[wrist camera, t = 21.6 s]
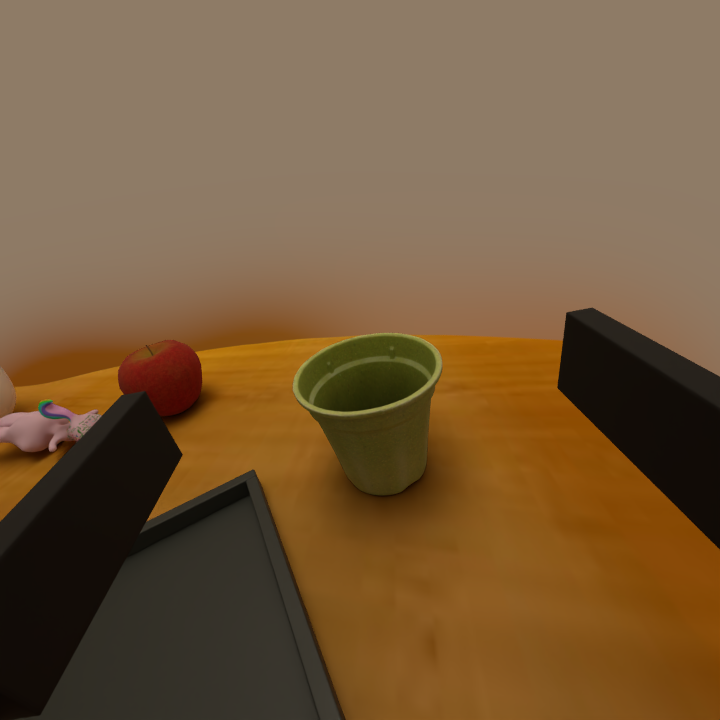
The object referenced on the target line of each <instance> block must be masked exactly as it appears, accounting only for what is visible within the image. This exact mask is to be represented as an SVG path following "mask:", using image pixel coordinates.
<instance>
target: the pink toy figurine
mask: <svg viewBox="0 0 720 720" xmlns="http://www.w3.org/2000/svg"><path fill="white" fill-rule="evenodd" d="M52 402H53V401H52V400H48V399H47V400H42V401H41V402H40V403H39V407H38V409H39V411H35V412H30V413H24V412H20V413H12V414H8V415H6V416H4V417H2V418H0V442H6V443H13V444H15V445H16V446H17V447H19V448H20V449H21V450H22V451H25V452H38V451H42V450H44V449H46V448H49V451H50V452H54V451H56V449H57V447H56V445H57V444H58V443H60V442H61V441H78V440H79V439H80V438H81V437H82V436H83V435H84V434H85V433H86V432H87V431H88V430H89V429H90V428H91V427H92V426H93V425H94V424H95V423H96V422H97V421H98V420H99V419H100V418H101V416H102V415H99V414H97V413H98V410H92V411H90V412H88V413H86V414H84V415H76V414H74V413H72V412H71V411H69V410H67V409H65V408H63V407H60V406H57V405H55V404H53V403H52ZM68 420H69V421H70V423H69V421H68Z"/></svg>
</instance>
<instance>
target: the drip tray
mask: <svg viewBox="0 0 720 720" xmlns="http://www.w3.org/2000/svg"><path fill="white" fill-rule="evenodd" d="M13 720H345V717H344V714H343V712H342V709H341V706H340V703H339V700H338V698H337V695H336V692H335V689H334V687H333V684H332V681H331V678H330V675H329V673H328V670H327V667H326V664H325V661H324V659H323V656H322V653H321V650H320V647H319V645H318V642H317V639H316V636H315V634H314V631H313V628H312V625H311V622H310V620H309V617H308V614H307V611H306V608H305V606H304V603H303V600H302V597H301V594H300V592H299V589H298V586H297V583H296V581H295V578H294V575H293V572H292V569H291V567H290V564H289V561H288V558H287V555H286V553H285V550H284V547H283V544H282V541H281V539H280V536H279V533H278V530H277V528H276V525H275V522H274V519H273V516H272V514H271V511H270V508H269V505H268V502H267V500H266V497H265V494H264V491H263V488H262V486H261V483H260V481H259V479H258V477H257V475H256V472H255V470H251V471H249V472H247V473H245V474H243V475H241V476H239V477H237V478H235V479H233V480H231V481H229V482H227V483H225V484H223V485H220V486H218V487H216V488H214V489H212V490H210V491H208V492H206V493H204V494H202V495H200V496H198V497H196V498H194V499H192V500H190V501H188V502H186V503H184V504H182V505H180V506H178V507H176V508H174V509H172V510H170V511H168V512H165V513H163V514H161V515H159V516H157V517H155V518H153V519H151V520H149V521H147V522H146V523H145V525H144V526H143V528H142V530H141V532H140V534H139V536H138V537H137V539H136V541H135V543H134V545H133V547H132V548H131V550H130V552H129V554H128V556H127V558H126V559H125V561H124V563H123V565H122V567H121V569H120V570H119V572H118V574H117V576H116V578H115V580H114V581H113V583H112V585H111V587H110V589H109V591H108V592H107V594H106V596H105V598H104V600H103V602H102V603H101V605H100V607H99V609H98V611H97V613H96V614H95V616H94V618H93V620H92V622H91V624H90V625H89V627H88V629H87V631H86V633H85V635H84V636H83V638H82V640H81V642H80V644H79V646H78V647H77V649H76V651H75V653H74V655H73V657H72V658H71V660H70V662H69V664H68V666H67V667H66V669H65V671H64V673H63V675H62V677H61V678H60V680H59V682H58V684H57V686H56V688H55V689H54V691H53V693H52V695H51V697H50V699H49V700H48V702H47V704H46V706H45V708H44V710H43V711H42V713H41V715H40V716H33V717H27V718H20V719H13Z"/></svg>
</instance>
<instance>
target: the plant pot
mask: <svg viewBox="0 0 720 720" xmlns="http://www.w3.org/2000/svg"><path fill="white" fill-rule="evenodd" d="M441 372H442V358H441V355H440V353H439V352H438V350H437V349H436V348H435V347H434V346H433V345H432V344H431V343H429V342H427V341H425V340H424V339H421V338H419V337H415V336H411V335H406V334H399V333H377V334H369V335H363V336H358V337H354V338H350V339H346V340H343V341H341V342H338V343H335V344H333V345H331V346H328V347H326V348H324V349H323V350H321V351H319V352H318V353H317V354H315V355H314V356H312V357H311V358H309V359H308V360H307V361H306V362H305V363H304V364H303V365H302V366H301V367H300V369H299V371H298V372H297V373H296V375H295V377H294V382H293V392H294V395H295V397H296V399H297V401H298V402H299V403H300V404H301V405H302V406H303V407H304V408H305V409H306V410H308V411H309V412H310V414H311V415H312V417H313V418H314V419H315V420H316V421H318V422H319V424H320V426H321V428H322V429H323V431H324V433H325V435H326V437H327V438H328V440H329V442H330V444H331V446H332V448H333V450H334V452H335V453H336V455H337V457H338V459H339V461H340V463H341V465H342V467H343V469H344V471H345V473H346V475H347V477H348V479H349V480H350V481H351V482H352V483H353V484H354V485H355V486H356V487H357V488H358V489H359V490H361V491H363V492H365V493H368V494H372V495H392V494H396V493H399V492H402V491H403V490H404V489H405V488H407V487H408V486H409V485H410V484H412V483H413V482H415V481H416V480H418V479H420V477H421V476H422V474H423V473H424V470H425V467H426V462H427V445H428V427H429V415H430V403H431V398H432V396H433V393H434V390H435V385H436V383H437V382H438V380H439V378H440V375H441Z"/></svg>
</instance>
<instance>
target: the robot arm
mask: <svg viewBox="0 0 720 720" xmlns="http://www.w3.org/2000/svg"><path fill="white" fill-rule="evenodd" d="M557 388H558V389H559V390H560V391H561V392H562V393H563V394H564V395H565V396H566V397H567V398H568V399H569V400H570V401H571V402H572V403H573V404H574V405H575V406H576V407H577V408H578V409H579V410H580V411H581V412H582V413H583V414H584V415H585V416H586V417H587V418H588V419H589V420H590V421H591V422H592V423H593V424H594V425H595V426H596V427H597V428H598V429H599V430H600V431H601V432H602V433H603V434H604V435H605V436H606V437H607V438H608V439H609V440H610V441H611V442H612V443H613V444H614V445H615V446H616V447H617V448H618V449H619V450H620V451H621V452H622V453H623V454H624V455H625V456H626V457H627V458H628V459H629V460H630V461H631V462H632V463H633V464H634V465H635V466H636V467H637V468H638V469H639V470H640V471H641V472H642V473H643V474H644V475H645V476H646V477H647V478H648V479H649V480H650V481H651V482H652V483H653V484H654V485H655V486H656V487H657V488H659V489H660V490H661V491H662V492H663V493H664V494H665V495H666V496H667V497H668V498H669V499H670V500H671V501H672V502H673V503H674V504H675V505H676V506H677V507H678V508H679V509H680V510H681V511H682V512H683V513H684V514H685V515H686V516H687V517H688V518H689V519H690V520H691V521H692V522H693V523H694V524H695V525H696V526H697V527H698V528H699V529H700V530H701V531H702V532H703V533H704V534H705V535H706V536H707V537H708V538H709V539H710V540H711V541H712V542H713V543H714V544H715V545H716V546H717V547H718V548H719V549H720V377H719V376H718V375H716V374H714V373H712V372H710V371H708V370H707V369H705V368H703V367H701V366H699V365H697V364H695V363H694V362H692V361H690V360H688V359H686V358H684V357H683V356H681V355H678V354H677V353H675V352H673V351H671V350H670V349H668V348H666V347H664V346H662V345H660V344H658V343H657V342H655V341H653V340H651V339H649V338H647V337H646V336H644V335H642V334H640V333H638V332H636V331H635V330H633V329H631V328H629V327H627V326H625V325H623V324H621V323H620V322H618V321H616V320H614V319H612V318H611V317H608V316H606V315H605V314H603V313H601V312H599V311H598V310H596V309H594V308H588V309H583V310H577V311H572V312H567V313H566V321H565V330H564V338H563V346H562V354H561V362H560V371H559V379H558V387H557ZM182 455H183V454H182V453H181V451H180V449H179V448H178V446H177V444H176V443H175V441H174V439H173V437H172V436H171V434H170V432H169V431H168V429H167V427H166V425H165V424H164V422H163V420H162V419H161V417H160V415H159V414H158V412H157V410H156V408H155V407H154V405H153V403H152V402H151V400H150V398H149V396H148V395H147V393H146V391H142V392H137V393H131V394H126V395H122V396H121V397H120V398H119V399H118V400H117V401H116V402H115V403H114V404H113V405H112V406H111V407H110V408H109V409H108V410H107V411H106V412H105V413H104V414H103V415H102V416H101V418H100V419H99V420H98V421H97V422H96V423H95V424H94V425H93V426H92V427H91V428H90V429H89V430H88V431H87V432H86V433H85V434H84V435H83V436H82V437H81V438H80V439H79V440H78V441H77V442H76V444H75V445H74V446H73V447H72V448H71V449H70V450H69V451H68V452H67V453H66V454H65V455H64V456H63V457H62V458H61V459H60V460H59V461H58V462H57V463H56V464H55V465H54V466H53V467H52V469H51V470H50V471H49V472H48V473H47V474H46V475H45V476H44V477H43V478H42V479H41V480H40V481H39V482H38V483H37V484H36V485H35V486H34V487H33V488H32V489H31V490H30V491H29V492H28V494H27V495H26V496H25V497H24V498H23V499H22V500H21V501H20V502H19V503H18V504H17V505H16V506H15V507H14V508H13V509H12V510H11V511H10V512H9V513H8V514H7V515H6V516H5V517H4V519H3V520H2V521H1V522H0V720H13V719H20V718H27V717H33V716H40V715H41V713H42V711H43V710H44V708H45V706H46V704H47V702H48V700H49V699H50V697H51V695H52V693H53V691H54V689H55V688H56V686H57V684H58V682H59V680H60V678H61V677H62V675H63V673H64V671H65V669H66V667H67V666H68V664H69V662H70V660H71V658H72V657H73V655H74V653H75V651H76V649H77V647H78V646H79V644H80V642H81V640H82V638H83V636H84V635H85V633H86V631H87V629H88V627H89V625H90V624H91V622H92V620H93V618H94V616H95V614H96V613H97V611H98V609H99V607H100V605H101V603H102V602H103V600H104V598H105V596H106V594H107V592H108V591H109V589H110V587H111V585H112V583H113V581H114V580H115V578H116V576H117V574H118V572H119V570H120V569H121V567H122V565H123V563H124V561H125V559H126V558H127V556H128V554H129V552H130V550H131V548H132V547H133V545H134V543H135V541H136V539H137V537H138V536H139V534H140V532H141V530H142V528H143V526H144V525H145V523H146V521H147V519H148V517H149V515H150V514H151V512H152V510H153V508H154V506H155V505H156V503H157V501H158V499H159V497H160V495H161V494H162V492H163V490H164V488H165V486H166V484H167V483H168V481H169V479H170V477H171V475H172V473H173V472H174V470H175V468H176V466H177V464H178V462H179V461H180V459H181V457H182Z"/></svg>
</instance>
